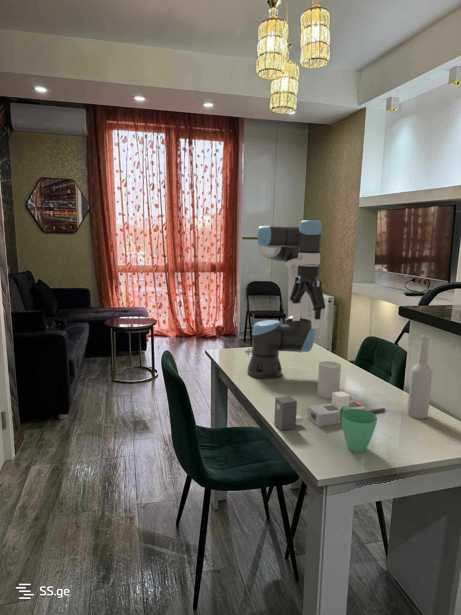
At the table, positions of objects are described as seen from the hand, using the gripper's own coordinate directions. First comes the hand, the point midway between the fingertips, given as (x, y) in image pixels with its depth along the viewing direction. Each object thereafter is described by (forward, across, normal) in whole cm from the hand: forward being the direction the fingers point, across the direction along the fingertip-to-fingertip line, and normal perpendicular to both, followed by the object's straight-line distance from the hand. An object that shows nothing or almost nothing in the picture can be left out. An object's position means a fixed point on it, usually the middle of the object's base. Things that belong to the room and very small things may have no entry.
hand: (305, 324), depth 153 cm
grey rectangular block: (+29, +18, -15) cm, 37 cm away
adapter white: (+25, +18, +4) cm, 31 cm away
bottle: (+29, +24, +32) cm, 49 cm away
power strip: (+29, +18, +9) cm, 35 cm away
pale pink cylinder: (+29, -2, +13) cm, 32 cm away
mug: (+29, +35, -3) cm, 45 cm away
